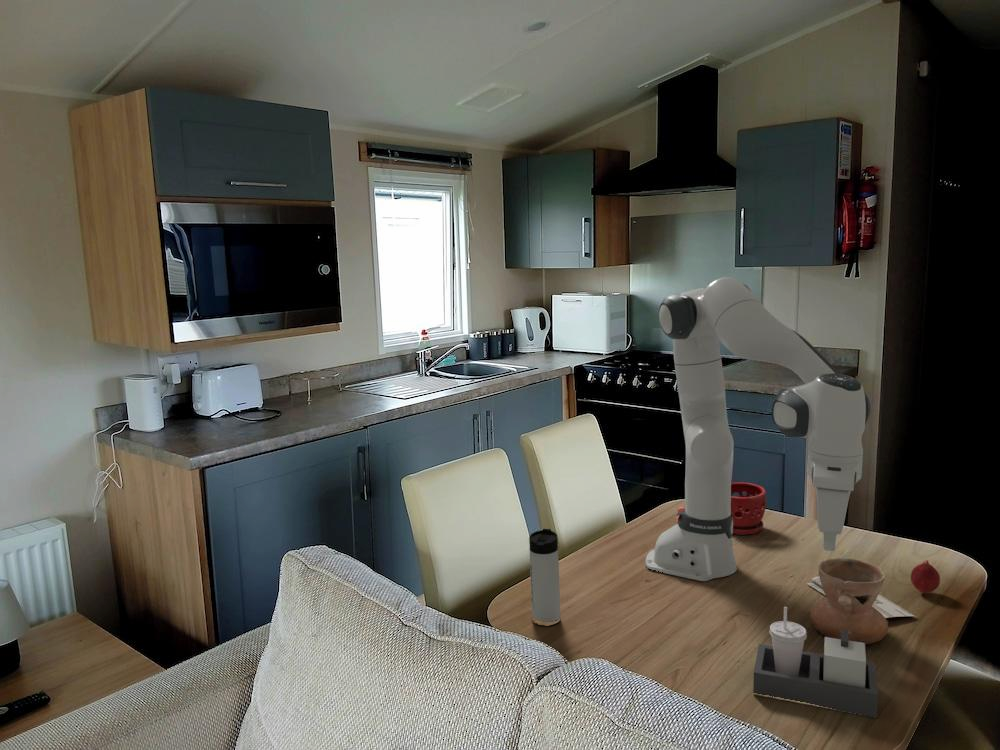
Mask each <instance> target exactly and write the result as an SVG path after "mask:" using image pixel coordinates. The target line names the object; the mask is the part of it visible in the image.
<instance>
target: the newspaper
mask: <svg viewBox="0 0 1000 750" xmlns="http://www.w3.org/2000/svg"><path fill="white" fill-rule="evenodd" d="M810 581H811V582H807V583H806V584H807V585H808V586H810V587H811V588H813V589H815V590H817V591H818V592H819V593H821V594H823V595H824V596H826V595H825V593H824V590H823V587H822V584H821V581H820V576H819V575H818V576H814V577H813V578H812V577H811V579H810ZM872 607H874V608H875V609H877V610H878V611H879V612H880V613H881V614H882V615H883V616H884V617H885V619H886V621H887V623H889V621H888V620H887V619H889V618H897V617H898V618H899V617H911V618H912V619H916V620H917V619H918V617H917V616H916V615H914V614H913V613H911V612H910V611H908V610H907V609H905V608H903V607H901V606H900V605H898V604H897V603H894V602H893V601H891V600H890V599H888V598H887V597H885V596H883V595H882V594H881V593H879V594H878V596H877V598H876V600H875V602H874V603H873V605H872Z"/></svg>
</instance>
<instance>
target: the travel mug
mask: <svg viewBox="0 0 1000 750" xmlns="http://www.w3.org/2000/svg"><path fill="white" fill-rule="evenodd" d="M528 539H529V541H528V543H529V567H530V568H529V569H530V574H529V575H530V596H531V616H532V617H533V618H534V619H536V620H538V621H542V622H553V621H557V620H558V619H559V618H560V619H561V599H560V597H561V595H560V592H561V591H560V570H559V569H560V566H559V565H560V563H559V546H558V544H559V543H558V542H559V541H558V539H559V538H558V534H557V533H556V532H555V531H553V530H552V529H551V528H543V529H541V530H537V531H534V532H532V533H531V534H530V535H529V537H528ZM532 617H531V618H532Z"/></svg>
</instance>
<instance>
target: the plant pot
mask: <svg viewBox="0 0 1000 750" xmlns="http://www.w3.org/2000/svg"><path fill="white" fill-rule="evenodd" d="M744 492H745V493H746V495H744V494H743V493H744ZM735 493H736V494H738V495H739V496H734V495H733V494H735ZM766 493H767V492H766V489H765V487H763V486H761V485H758V484H755V483H751V482H731V513H732V515H733V534H735V535H743V536H744V535H754V534H757V533H759V532H760V531H762V529H763V528H764V522H763V521H762V520H763V518H764V515H765V512H766V505H767V494H766Z"/></svg>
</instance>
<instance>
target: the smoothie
mask: <svg viewBox="0 0 1000 750" xmlns="http://www.w3.org/2000/svg"><path fill="white" fill-rule="evenodd" d="M769 635H770V636H771V642H772V646H773V652H774V661H775V669H776V673H781V674H787V675H793V676H798V675H799V669H800V663H801V657H802V651H804V646H805V641H806V640H807V638H808V636H807V635H808V634H807V629H806V628H805V627H804V626H802V625H801V624H800V623H796V622H793V621H789V620H788V607H787V606H783V620H778V621H775V622H773V623H771V624H770V626H769Z"/></svg>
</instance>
